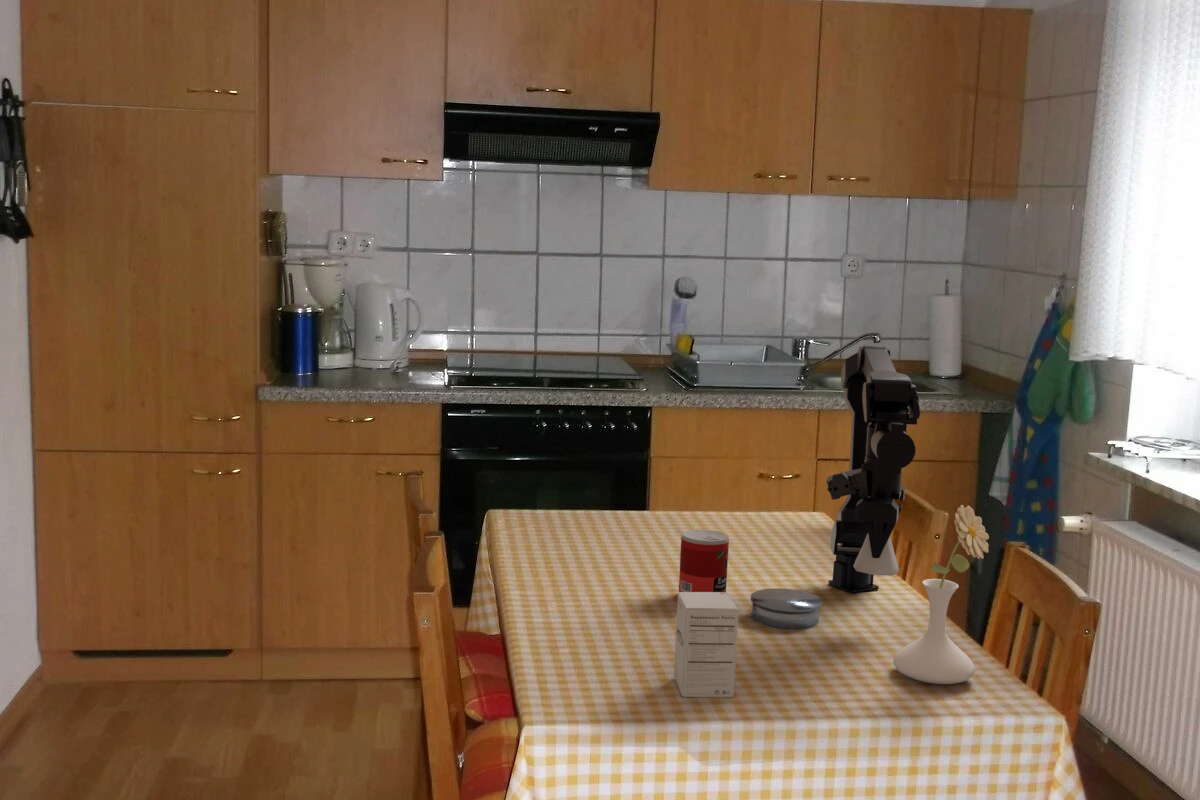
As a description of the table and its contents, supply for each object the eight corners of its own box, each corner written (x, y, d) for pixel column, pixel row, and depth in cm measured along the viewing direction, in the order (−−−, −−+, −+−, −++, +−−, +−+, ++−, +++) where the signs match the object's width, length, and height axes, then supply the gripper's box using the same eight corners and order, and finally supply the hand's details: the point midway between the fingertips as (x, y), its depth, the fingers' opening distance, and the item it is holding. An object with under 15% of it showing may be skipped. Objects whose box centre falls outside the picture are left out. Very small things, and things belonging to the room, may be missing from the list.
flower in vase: (929, 696, 178) (943, 518, 175) (875, 669, 188) (888, 500, 185) (1000, 683, 184) (1015, 511, 181) (944, 657, 194) (957, 494, 191)
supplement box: (672, 678, 182) (676, 590, 180) (725, 678, 182) (729, 591, 180) (680, 698, 174) (684, 607, 172) (734, 698, 175) (739, 607, 173)
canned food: (723, 607, 215) (726, 542, 213) (675, 602, 216) (678, 538, 214) (728, 594, 222) (731, 531, 220) (681, 589, 223) (684, 527, 222)
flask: (902, 567, 207) (906, 506, 205) (896, 579, 200) (901, 516, 199) (856, 562, 209) (860, 501, 208) (849, 573, 202) (854, 510, 201)
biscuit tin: (792, 605, 218) (794, 585, 217) (835, 626, 208) (836, 605, 207) (735, 613, 212) (737, 592, 212) (776, 634, 202) (777, 613, 202)
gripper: (839, 441, 213) (832, 534, 215) (824, 462, 195) (817, 562, 198) (908, 447, 210) (901, 541, 212) (900, 469, 192) (892, 571, 195)
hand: (877, 553), depth 204 cm, fingers closed on flask, 5 cm apart
